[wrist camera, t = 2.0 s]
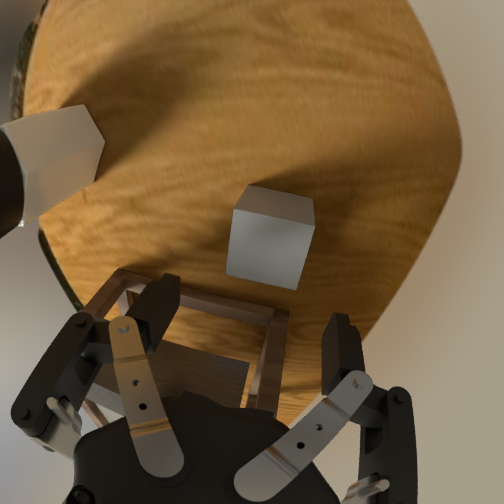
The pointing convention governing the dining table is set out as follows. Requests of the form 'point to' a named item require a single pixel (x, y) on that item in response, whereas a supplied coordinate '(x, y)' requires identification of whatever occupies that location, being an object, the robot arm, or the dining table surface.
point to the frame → (276, 320)
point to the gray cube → (270, 237)
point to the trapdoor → (175, 377)
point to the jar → (45, 162)
